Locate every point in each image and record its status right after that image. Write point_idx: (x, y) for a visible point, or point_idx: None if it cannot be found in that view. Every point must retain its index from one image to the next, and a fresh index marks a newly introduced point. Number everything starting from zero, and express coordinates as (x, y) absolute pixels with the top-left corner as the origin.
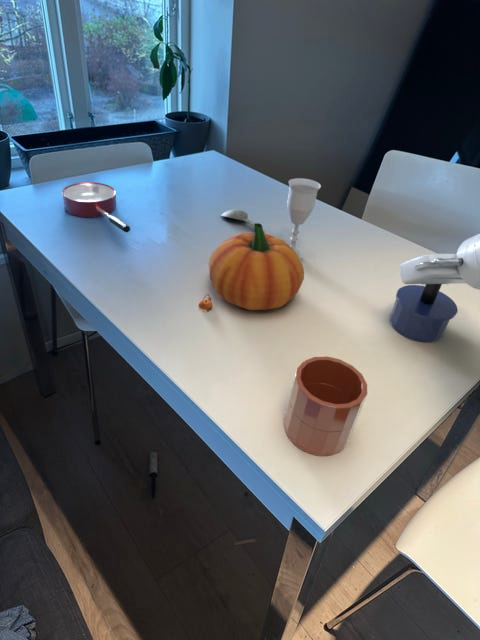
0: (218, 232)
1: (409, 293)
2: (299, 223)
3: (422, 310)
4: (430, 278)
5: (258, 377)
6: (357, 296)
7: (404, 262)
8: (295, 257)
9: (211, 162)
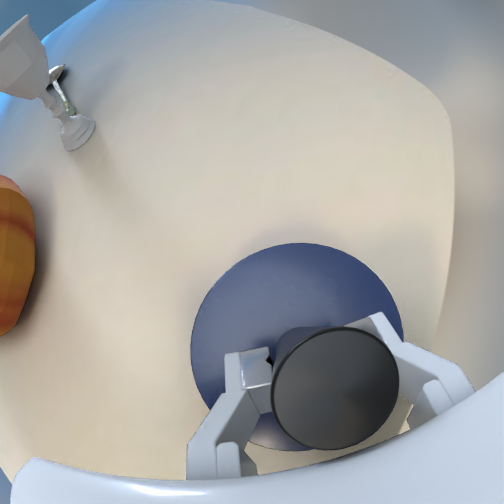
0: (24, 121)
1: (243, 313)
2: (33, 96)
3: (264, 417)
4: None
5: (26, 461)
6: (162, 234)
7: (11, 495)
8: None
9: (96, 5)
